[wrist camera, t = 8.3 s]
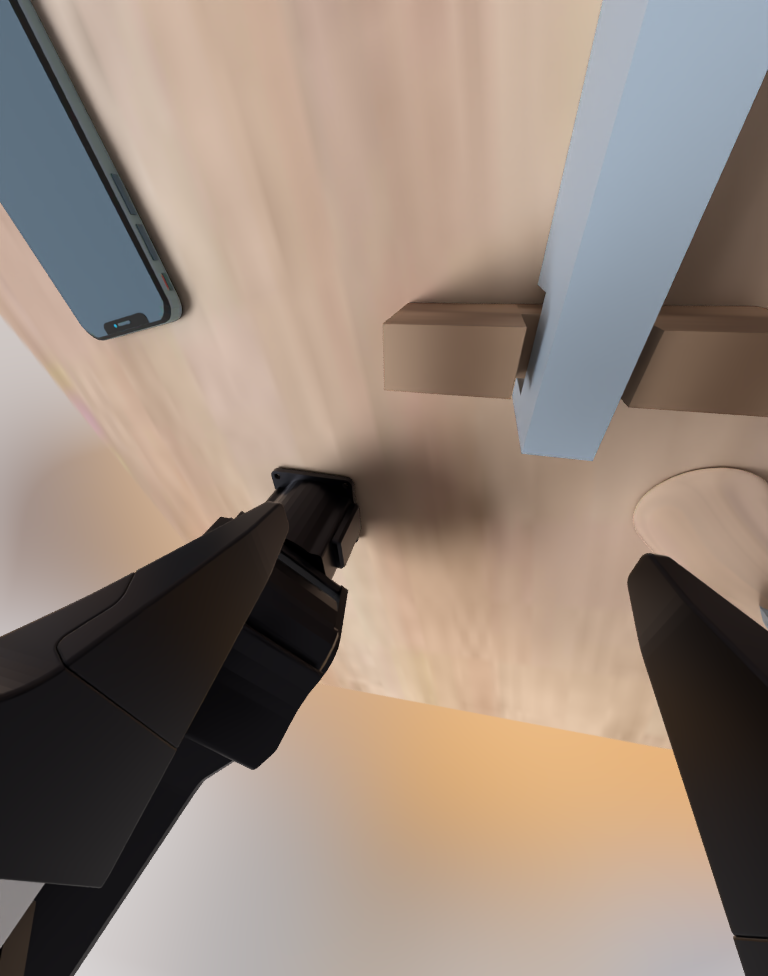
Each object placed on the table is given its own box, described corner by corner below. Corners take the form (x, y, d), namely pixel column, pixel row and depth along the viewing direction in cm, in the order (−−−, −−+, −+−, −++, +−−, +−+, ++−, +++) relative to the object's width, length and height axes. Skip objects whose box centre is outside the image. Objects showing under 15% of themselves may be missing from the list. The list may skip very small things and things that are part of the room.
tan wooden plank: (407, 356, 17) (384, 390, 13) (408, 303, 16) (382, 323, 12) (717, 370, 14) (803, 419, 10) (756, 306, 13) (873, 335, 9)
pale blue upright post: (512, 395, 17) (521, 453, 12) (630, -120, 8) (804, -553, 4) (563, 398, 16) (592, 461, 12) (744, -146, 8) (1106, -685, 3)
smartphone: (-95, -214, 10) (175, 319, 18) (-27, -157, 11) (196, 315, 19) (-184, -67, 12) (88, 344, 20) (-119, -35, 14) (113, 339, 22)
